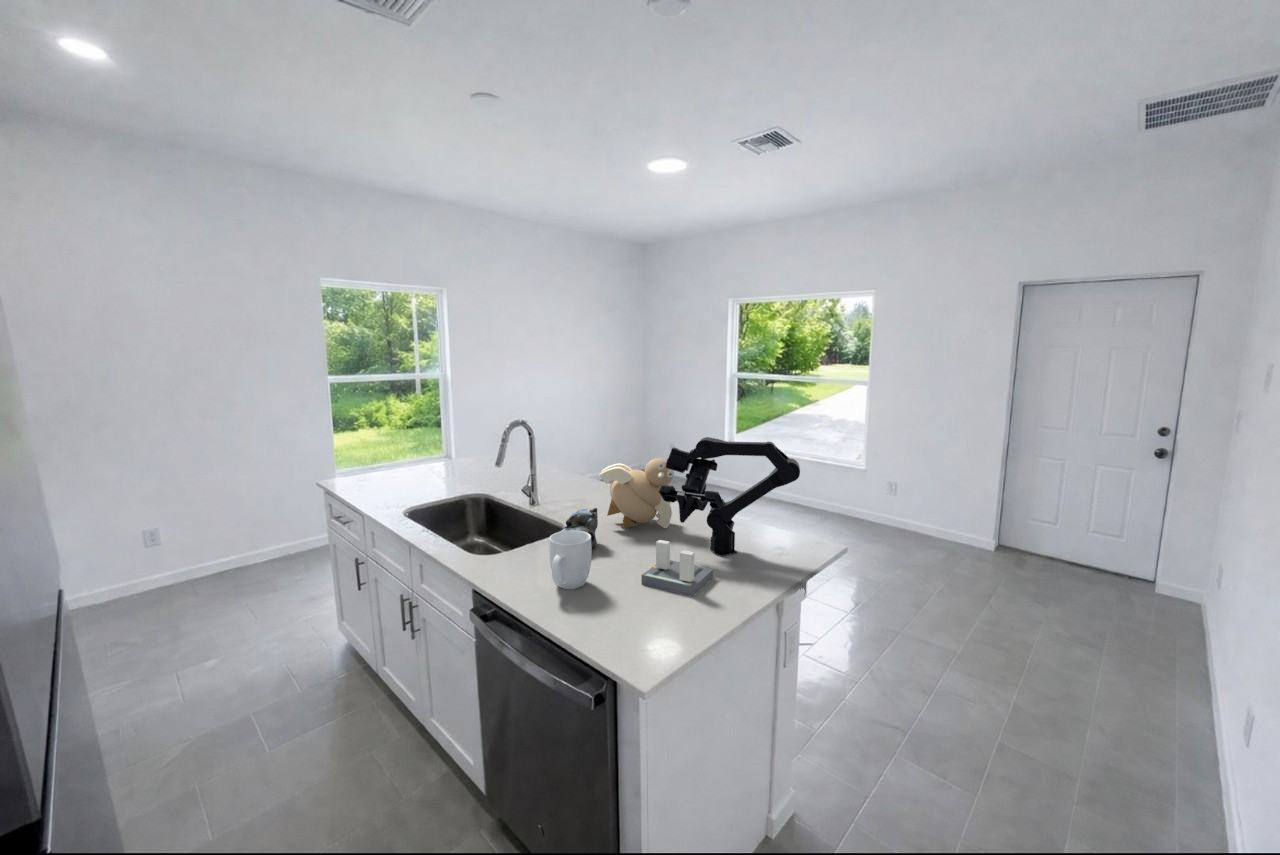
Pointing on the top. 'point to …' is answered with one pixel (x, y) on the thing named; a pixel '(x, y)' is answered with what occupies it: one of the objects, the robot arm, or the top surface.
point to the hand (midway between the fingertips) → (681, 521)
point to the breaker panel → (677, 579)
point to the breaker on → (687, 566)
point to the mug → (570, 558)
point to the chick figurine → (639, 492)
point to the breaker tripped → (662, 554)
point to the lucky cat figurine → (584, 523)
